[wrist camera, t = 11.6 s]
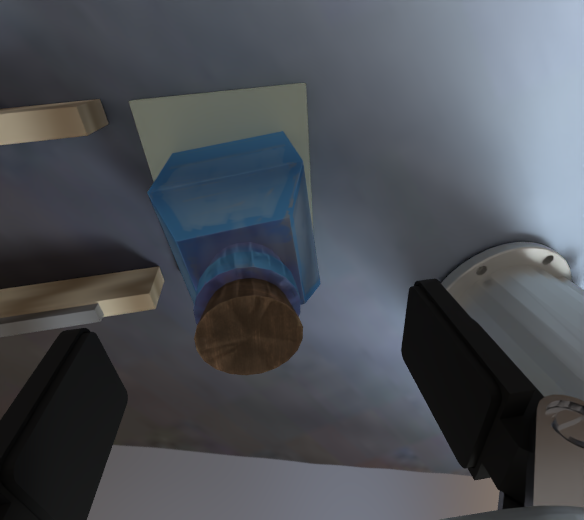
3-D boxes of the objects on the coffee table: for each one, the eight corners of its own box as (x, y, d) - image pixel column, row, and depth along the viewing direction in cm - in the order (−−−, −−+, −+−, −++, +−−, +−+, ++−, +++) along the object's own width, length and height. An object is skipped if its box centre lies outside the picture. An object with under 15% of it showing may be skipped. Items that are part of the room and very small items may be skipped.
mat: (303, 82, 18) (305, 83, 17) (312, 256, 24) (314, 260, 23) (131, 100, 17) (128, 101, 16) (185, 275, 23) (184, 280, 22)
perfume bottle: (172, 153, 18) (94, 276, 8) (283, 131, 18) (344, 223, 8) (205, 249, 21) (181, 422, 11) (299, 229, 22) (357, 381, 11)
